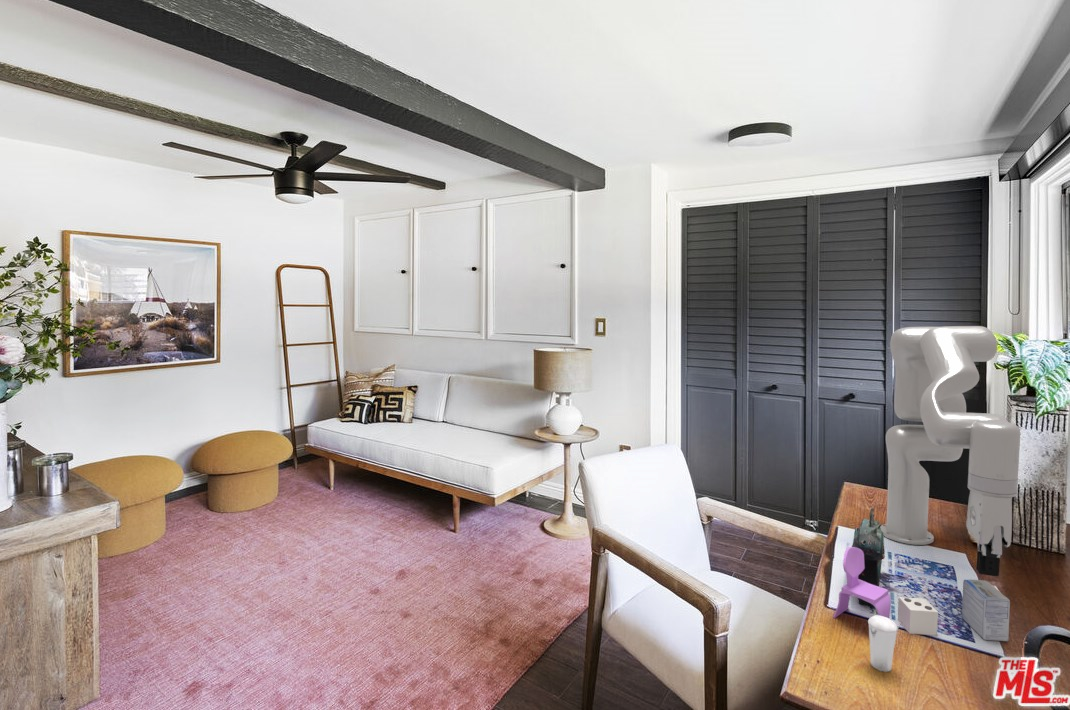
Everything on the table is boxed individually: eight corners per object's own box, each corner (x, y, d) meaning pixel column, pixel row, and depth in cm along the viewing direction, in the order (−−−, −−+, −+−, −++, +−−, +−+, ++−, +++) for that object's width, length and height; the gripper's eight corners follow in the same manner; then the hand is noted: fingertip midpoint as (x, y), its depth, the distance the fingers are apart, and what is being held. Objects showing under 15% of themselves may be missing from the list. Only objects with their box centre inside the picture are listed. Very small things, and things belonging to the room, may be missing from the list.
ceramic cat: (882, 613, 119) (886, 523, 117) (848, 605, 122) (850, 517, 120) (883, 574, 135) (886, 494, 134) (852, 568, 139) (855, 490, 137)
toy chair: (875, 639, 110) (878, 566, 109) (830, 619, 117) (832, 550, 116) (893, 624, 115) (896, 554, 113) (848, 606, 122) (850, 540, 121)
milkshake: (894, 680, 98) (896, 626, 97) (862, 664, 102) (864, 613, 101) (905, 670, 101) (907, 617, 100) (873, 655, 105) (875, 604, 104)
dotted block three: (897, 619, 116) (898, 596, 116) (924, 621, 116) (925, 597, 115) (909, 633, 112) (910, 609, 111) (937, 635, 111) (938, 611, 110)
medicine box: (1009, 642, 108) (1011, 600, 107) (982, 640, 109) (985, 598, 108) (985, 619, 116) (987, 579, 115) (960, 617, 116) (962, 578, 116)
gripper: (958, 471, 118) (954, 554, 119) (980, 493, 104) (975, 587, 106) (1003, 475, 114) (998, 560, 116) (1031, 498, 101) (1025, 595, 103)
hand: (987, 573), depth 111 cm, fingers closed
